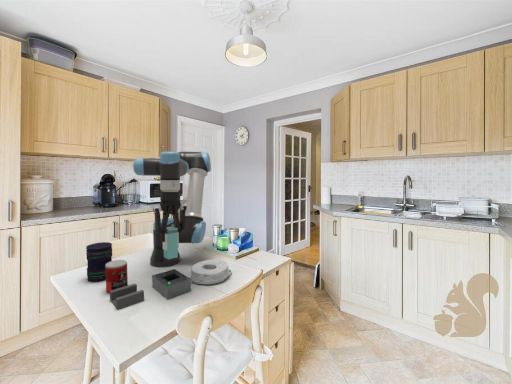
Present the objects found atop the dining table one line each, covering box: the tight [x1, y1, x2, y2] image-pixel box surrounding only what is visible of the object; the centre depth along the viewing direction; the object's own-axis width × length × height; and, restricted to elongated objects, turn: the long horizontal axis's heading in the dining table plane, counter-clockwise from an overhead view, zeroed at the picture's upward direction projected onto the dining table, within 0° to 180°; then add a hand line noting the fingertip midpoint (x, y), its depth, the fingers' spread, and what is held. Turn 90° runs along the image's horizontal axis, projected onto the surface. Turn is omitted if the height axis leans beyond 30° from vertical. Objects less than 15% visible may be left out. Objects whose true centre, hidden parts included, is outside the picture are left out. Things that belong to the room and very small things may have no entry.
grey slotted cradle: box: [109, 283, 145, 311], centre depth 90 cm, size 9×9×4 cm
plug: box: [164, 227, 179, 259], centre depth 98 cm, size 4×4×12 cm
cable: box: [190, 259, 233, 285], centre depth 112 cm, size 18×18×6 cm
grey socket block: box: [151, 268, 192, 300], centre depth 100 cm, size 14×10×6 cm
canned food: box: [105, 259, 129, 294], centre depth 99 cm, size 8×8×11 cm
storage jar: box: [85, 241, 113, 283], centre depth 109 cm, size 10×10×15 cm
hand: (170, 248), depth 98 cm, fingers closed on plug, 4 cm apart
